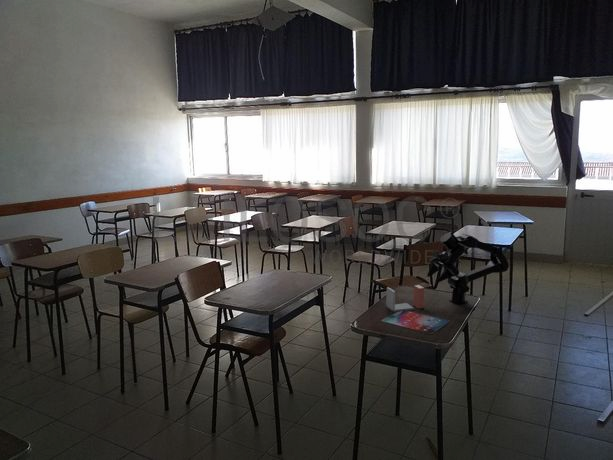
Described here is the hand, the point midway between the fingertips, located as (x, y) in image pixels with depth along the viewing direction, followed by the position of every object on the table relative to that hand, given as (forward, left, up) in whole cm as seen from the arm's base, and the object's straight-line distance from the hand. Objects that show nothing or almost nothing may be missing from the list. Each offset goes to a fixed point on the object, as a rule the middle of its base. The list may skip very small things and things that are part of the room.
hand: (432, 278), depth 232 cm
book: (+7, -3, -13) cm, 15 cm away
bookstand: (+16, -6, -13) cm, 22 cm away
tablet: (+23, +10, -14) cm, 29 cm away
